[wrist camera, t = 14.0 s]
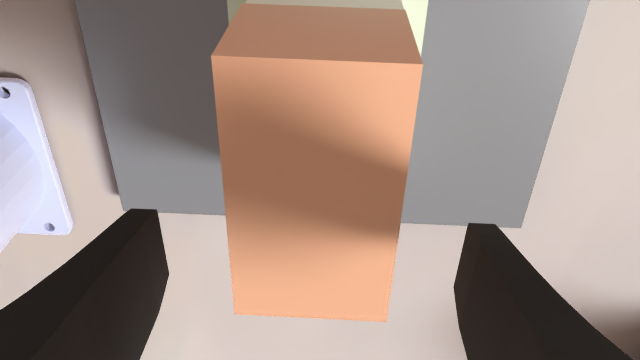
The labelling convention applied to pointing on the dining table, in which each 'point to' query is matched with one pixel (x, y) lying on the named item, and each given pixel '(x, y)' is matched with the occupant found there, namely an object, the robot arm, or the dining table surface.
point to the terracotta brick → (315, 155)
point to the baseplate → (431, 116)
